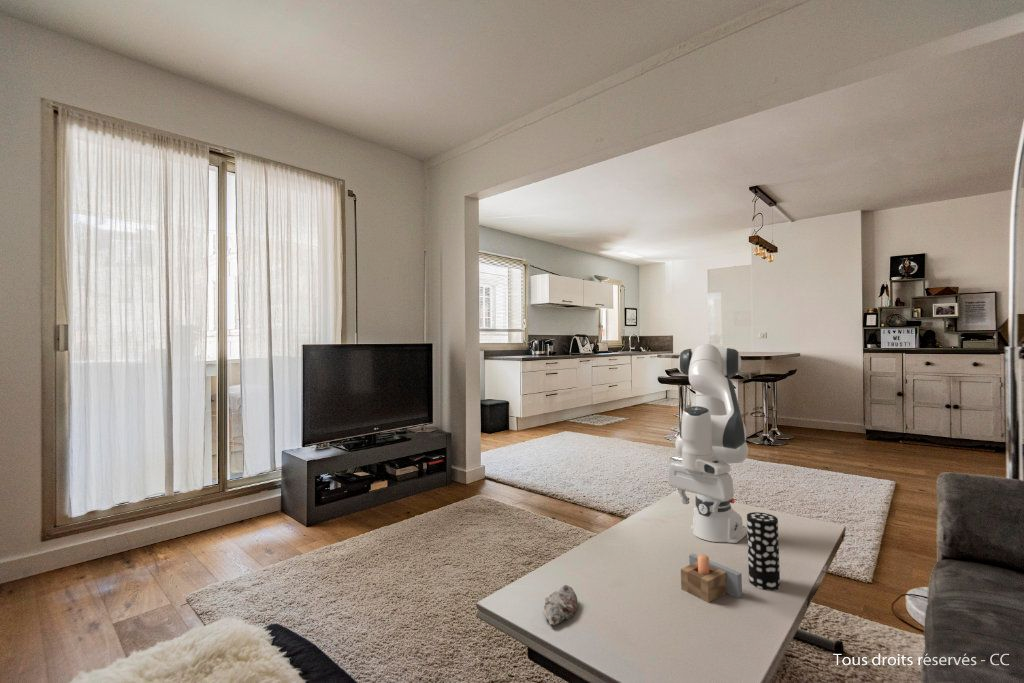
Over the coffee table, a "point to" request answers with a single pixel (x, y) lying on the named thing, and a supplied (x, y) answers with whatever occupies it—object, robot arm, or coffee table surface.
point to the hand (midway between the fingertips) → (699, 507)
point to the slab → (731, 575)
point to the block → (703, 582)
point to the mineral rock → (560, 605)
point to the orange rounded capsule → (703, 564)
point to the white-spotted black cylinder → (763, 550)
